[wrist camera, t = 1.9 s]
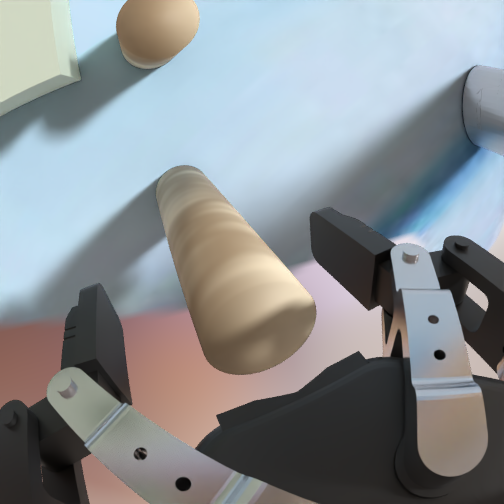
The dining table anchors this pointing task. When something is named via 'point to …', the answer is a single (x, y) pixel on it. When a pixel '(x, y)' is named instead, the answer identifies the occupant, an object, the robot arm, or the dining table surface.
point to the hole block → (35, 50)
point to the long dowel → (231, 278)
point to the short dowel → (155, 30)
